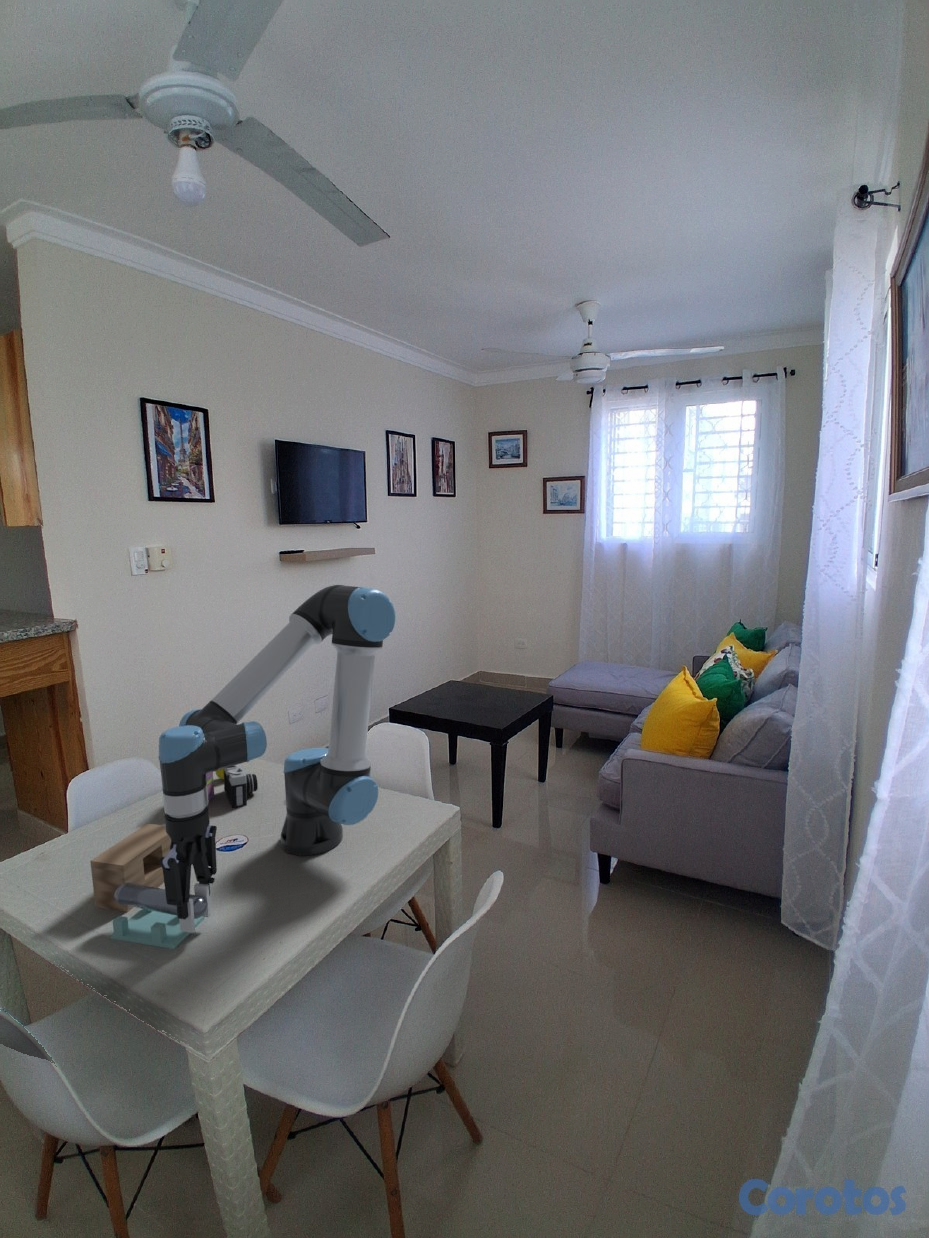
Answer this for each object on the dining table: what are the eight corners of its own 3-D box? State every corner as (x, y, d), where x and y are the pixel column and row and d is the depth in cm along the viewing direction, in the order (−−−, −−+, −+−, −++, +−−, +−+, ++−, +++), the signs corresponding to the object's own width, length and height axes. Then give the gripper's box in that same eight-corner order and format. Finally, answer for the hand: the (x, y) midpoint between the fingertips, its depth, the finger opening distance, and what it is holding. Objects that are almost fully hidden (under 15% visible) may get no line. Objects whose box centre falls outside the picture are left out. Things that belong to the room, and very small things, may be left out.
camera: (259, 805, 170) (257, 771, 169) (225, 811, 167) (223, 777, 165) (256, 786, 183) (254, 754, 181) (224, 791, 179) (222, 759, 178)
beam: (180, 869, 138) (177, 827, 136) (127, 912, 123) (123, 865, 121) (151, 865, 140) (147, 823, 138) (95, 907, 124) (90, 860, 123)
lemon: (223, 785, 183) (221, 760, 182) (212, 781, 186) (210, 757, 185) (238, 779, 188) (237, 754, 186) (227, 775, 190) (225, 751, 189)
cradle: (205, 919, 120) (203, 901, 120) (174, 950, 112) (172, 930, 111) (145, 910, 123) (144, 892, 123) (111, 939, 115) (109, 920, 114)
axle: (211, 913, 116) (212, 893, 116) (198, 924, 112) (199, 904, 112) (125, 896, 121) (125, 877, 120) (109, 906, 117) (109, 886, 116)
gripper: (198, 788, 121) (207, 894, 124) (135, 829, 104) (146, 949, 108) (231, 791, 119) (239, 898, 123) (172, 833, 103) (182, 956, 106)
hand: (195, 922), depth 115 cm, fingers closed on axle, 4 cm apart
